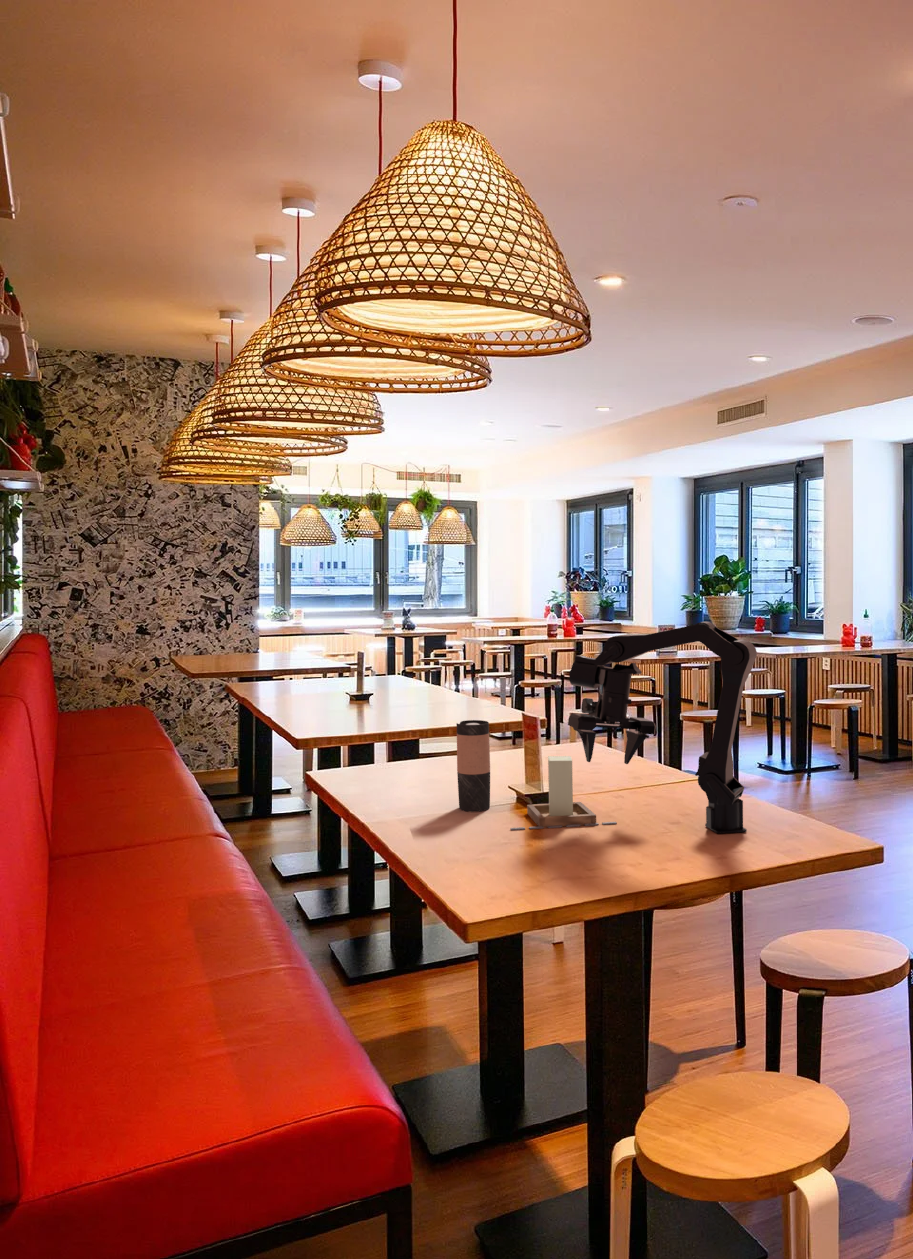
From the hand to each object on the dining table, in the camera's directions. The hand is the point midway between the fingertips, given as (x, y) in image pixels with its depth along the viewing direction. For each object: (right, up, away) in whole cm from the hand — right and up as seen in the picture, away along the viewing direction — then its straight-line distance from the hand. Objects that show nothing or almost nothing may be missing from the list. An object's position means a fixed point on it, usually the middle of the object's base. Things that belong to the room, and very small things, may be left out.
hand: (607, 762), depth 206 cm
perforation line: (-10, -13, -6) cm, 17 cm away
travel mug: (-29, -13, +12) cm, 34 cm away
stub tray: (-10, -12, +1) cm, 16 cm away
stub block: (-10, -12, +1) cm, 16 cm away
